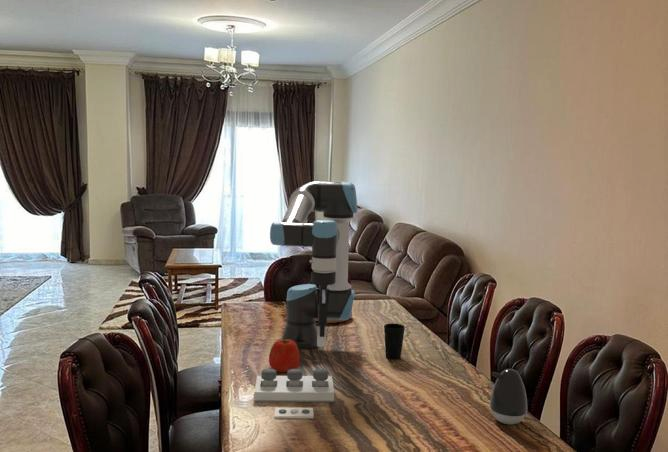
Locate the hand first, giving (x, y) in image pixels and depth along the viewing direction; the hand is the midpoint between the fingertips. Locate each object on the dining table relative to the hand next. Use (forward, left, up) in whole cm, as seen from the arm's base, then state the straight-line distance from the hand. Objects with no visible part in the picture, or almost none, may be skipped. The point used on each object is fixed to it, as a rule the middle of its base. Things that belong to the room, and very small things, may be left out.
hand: (321, 345), depth 185 cm
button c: (-12, -11, -13) cm, 21 cm away
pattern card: (+5, -17, -15) cm, 23 cm away
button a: (0, 0, -13) cm, 13 cm away
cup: (-5, +45, -16) cm, 48 cm away
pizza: (-60, +69, -16) cm, 93 cm away
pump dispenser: (+51, +23, -16) cm, 58 cm away
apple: (-24, +7, -16) cm, 29 cm away
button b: (-6, -6, -13) cm, 15 cm away
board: (-6, -6, -15) cm, 17 cm away
